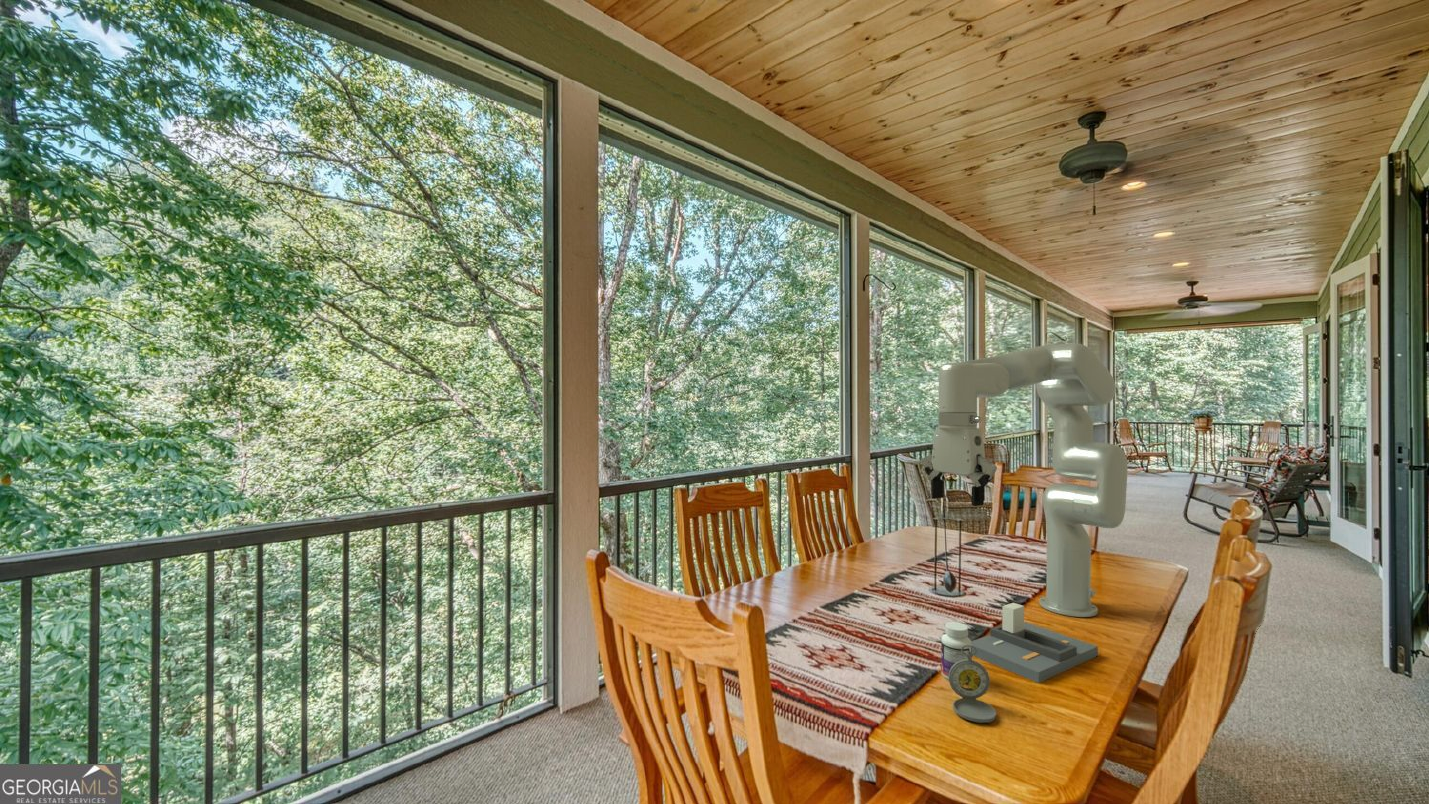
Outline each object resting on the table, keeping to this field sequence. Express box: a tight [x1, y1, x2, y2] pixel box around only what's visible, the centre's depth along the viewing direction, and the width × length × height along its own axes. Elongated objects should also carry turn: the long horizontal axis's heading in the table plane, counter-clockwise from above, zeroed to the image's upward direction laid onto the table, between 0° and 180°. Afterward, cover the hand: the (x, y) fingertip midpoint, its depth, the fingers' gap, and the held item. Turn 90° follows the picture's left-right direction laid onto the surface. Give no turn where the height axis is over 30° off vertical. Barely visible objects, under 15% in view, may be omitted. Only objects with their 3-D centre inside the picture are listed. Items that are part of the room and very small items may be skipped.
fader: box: [1001, 602, 1025, 638], centre depth 122 cm, size 4×3×7 cm
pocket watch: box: [948, 645, 997, 724], centre depth 97 cm, size 8×8×10 cm
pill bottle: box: [940, 621, 973, 684], centre depth 109 cm, size 5×5×10 cm
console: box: [971, 621, 1099, 684], centre depth 119 cm, size 22×15×4 cm
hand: (956, 501), depth 122 cm, fingers open, 9 cm apart
